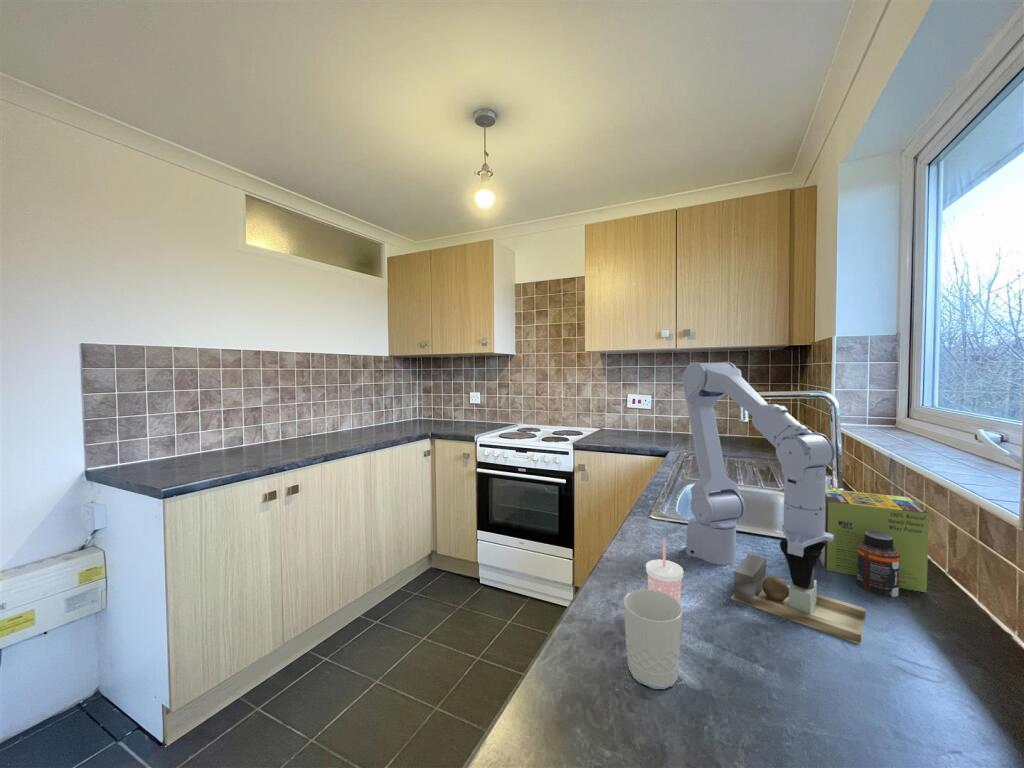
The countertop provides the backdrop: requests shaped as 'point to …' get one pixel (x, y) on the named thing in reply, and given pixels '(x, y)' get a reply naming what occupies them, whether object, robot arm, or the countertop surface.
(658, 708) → the countertop surface
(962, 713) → the countertop surface
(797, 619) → the base
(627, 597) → the white cup
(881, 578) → the supplement bottle
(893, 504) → the protein box
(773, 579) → the nut
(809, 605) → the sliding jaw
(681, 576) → the beverage cup
